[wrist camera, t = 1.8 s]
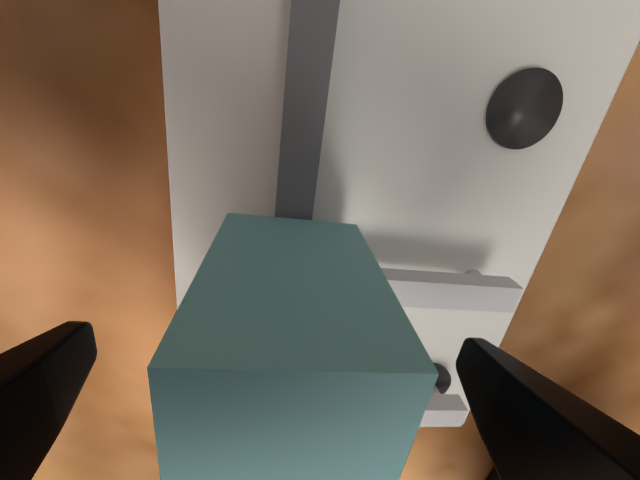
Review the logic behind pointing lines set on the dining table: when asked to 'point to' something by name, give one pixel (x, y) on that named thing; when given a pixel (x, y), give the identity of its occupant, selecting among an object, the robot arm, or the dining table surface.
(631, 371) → the dining table surface
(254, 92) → the white base plate
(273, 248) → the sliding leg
